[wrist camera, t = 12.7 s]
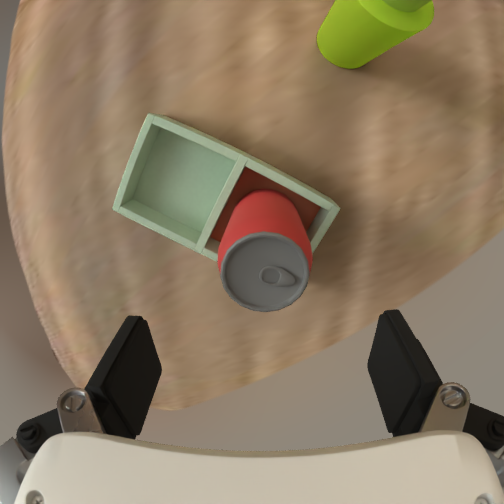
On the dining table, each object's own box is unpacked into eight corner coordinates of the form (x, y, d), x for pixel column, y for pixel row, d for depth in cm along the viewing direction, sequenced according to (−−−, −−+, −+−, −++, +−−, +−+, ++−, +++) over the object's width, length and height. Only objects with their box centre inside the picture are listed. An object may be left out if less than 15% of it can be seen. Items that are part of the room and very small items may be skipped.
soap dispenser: (381, 30, 21) (497, -47, 3) (361, 78, 24) (492, 21, 5) (331, 4, 21) (402, -112, 2) (307, 52, 23) (374, -61, 5)
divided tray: (127, 200, 30) (111, 209, 26) (161, 114, 26) (148, 112, 23) (284, 277, 33) (286, 294, 29) (331, 199, 29) (340, 208, 26)
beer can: (286, 257, 31) (297, 328, 20) (225, 241, 30) (203, 305, 19) (306, 198, 28) (333, 241, 17) (241, 179, 28) (225, 211, 17)
